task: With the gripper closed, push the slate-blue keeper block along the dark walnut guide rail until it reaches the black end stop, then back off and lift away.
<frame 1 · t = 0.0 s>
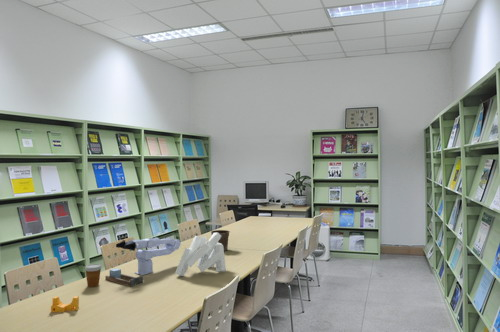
hand: (120, 246, 244), 22 cm above the table, tool horizontal, fingers open, 7 cm apart
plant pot: (220, 250, 330), on the table
pile of blocks: (203, 272, 262), on the table
disposable coffee cup: (93, 285, 234), on the table
keeper: (115, 274, 247), point 3 cm above the table, slide at 0.0 cm
pipe clamp: (65, 310, 195), on the table
guide rail: (123, 281, 243), on the table
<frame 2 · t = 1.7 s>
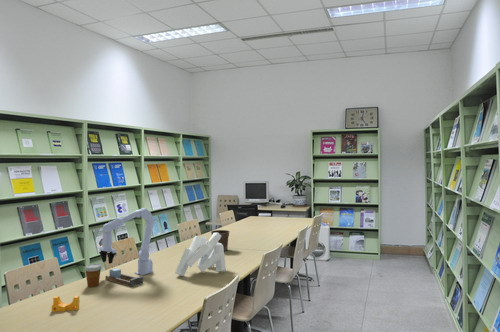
hand: (107, 262, 251), 9 cm above the table, tool pointing down, fingers open, 6 cm apart
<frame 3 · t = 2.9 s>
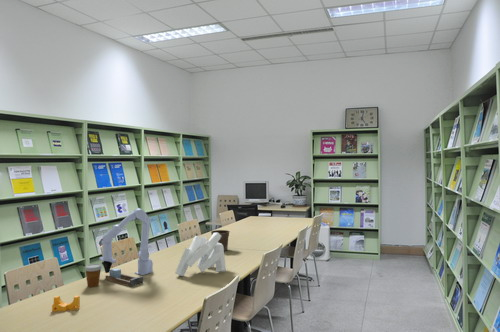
hand: (107, 272, 252), 3 cm above the table, tool pointing down, fingers closed
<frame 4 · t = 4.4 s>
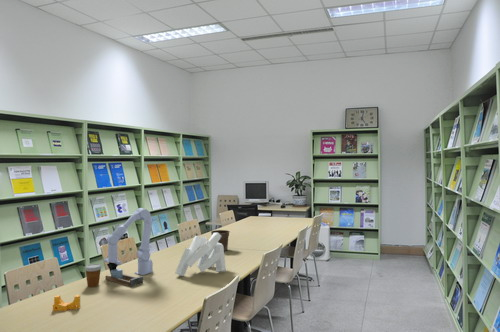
hand: (112, 274, 249), 3 cm above the table, tool pointing down, fingers closed
keeper: (116, 274, 246), point 3 cm above the table, slide at 1.5 cm, touching gripper
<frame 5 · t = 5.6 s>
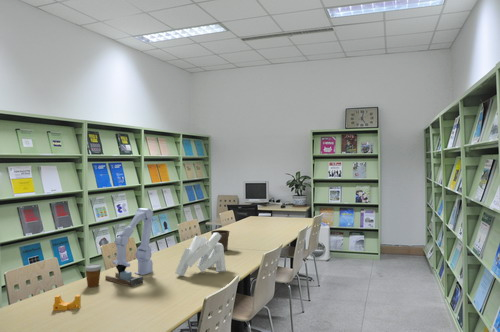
hand: (121, 276, 244), 3 cm above the table, tool pointing down, fingers closed
keeper: (125, 276, 242), point 3 cm above the table, slide at 10.2 cm, touching gripper
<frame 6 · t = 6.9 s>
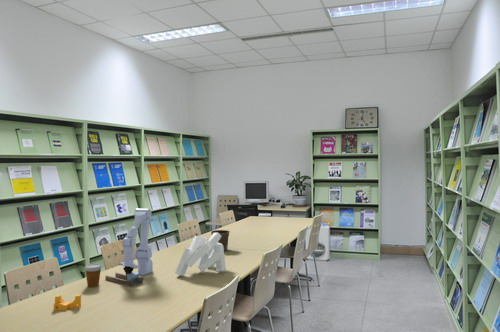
hand: (128, 278, 240), 3 cm above the table, tool pointing down, fingers closed
keeper: (132, 278, 238), point 3 cm above the table, slide at 17.1 cm, touching gripper
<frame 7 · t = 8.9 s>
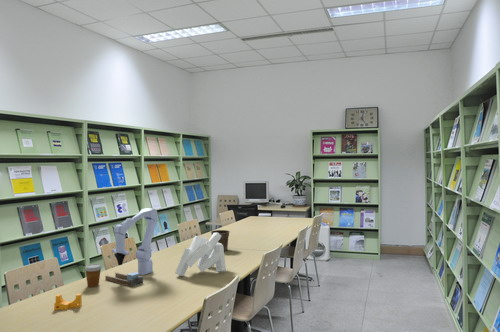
hand: (120, 264, 244), 10 cm above the table, tool pointing down, fingers closed
keeper: (132, 278, 238), point 3 cm above the table, slide at 17.0 cm
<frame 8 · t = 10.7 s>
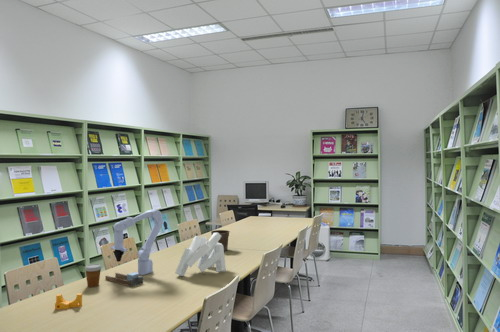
hand: (118, 261, 253), 10 cm above the table, tool pointing down, fingers closed
at the end: keeper slide at 17.0 cm; the gripper is holding nothing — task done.
